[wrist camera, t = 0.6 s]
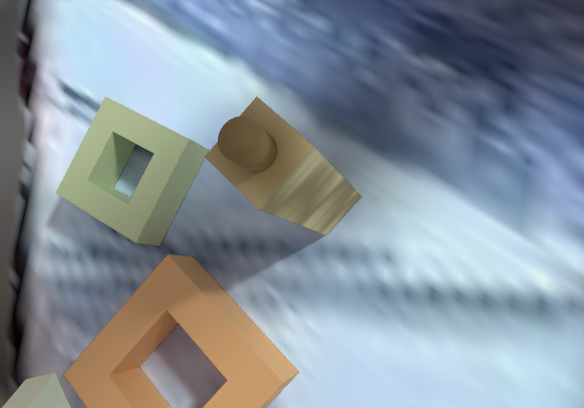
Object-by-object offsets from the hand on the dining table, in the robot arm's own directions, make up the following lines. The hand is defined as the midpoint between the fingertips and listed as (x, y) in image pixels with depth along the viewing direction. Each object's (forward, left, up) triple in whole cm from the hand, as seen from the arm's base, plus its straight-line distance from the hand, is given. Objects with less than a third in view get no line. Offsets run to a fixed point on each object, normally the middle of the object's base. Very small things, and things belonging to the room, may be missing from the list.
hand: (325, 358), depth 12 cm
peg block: (-2, -8, -20) cm, 22 cm away
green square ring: (+6, -20, -20) cm, 29 cm away
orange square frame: (+13, -7, -20) cm, 25 cm away
